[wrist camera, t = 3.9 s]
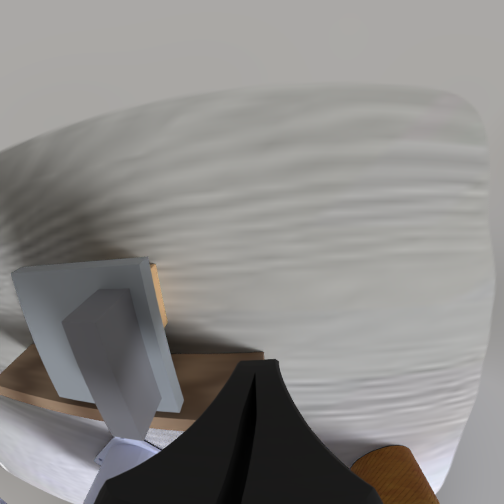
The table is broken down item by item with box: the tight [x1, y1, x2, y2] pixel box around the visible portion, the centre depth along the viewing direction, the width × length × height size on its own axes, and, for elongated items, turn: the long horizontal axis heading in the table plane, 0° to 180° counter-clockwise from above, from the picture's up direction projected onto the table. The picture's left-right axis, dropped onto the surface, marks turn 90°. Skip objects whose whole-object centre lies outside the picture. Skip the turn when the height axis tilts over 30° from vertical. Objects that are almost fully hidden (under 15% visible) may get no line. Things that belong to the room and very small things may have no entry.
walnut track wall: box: [0, 344, 264, 431], centre depth 18 cm, size 20×1×6 cm, turn 96°
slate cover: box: [11, 257, 184, 441], centre depth 13 cm, size 8×8×4 cm
